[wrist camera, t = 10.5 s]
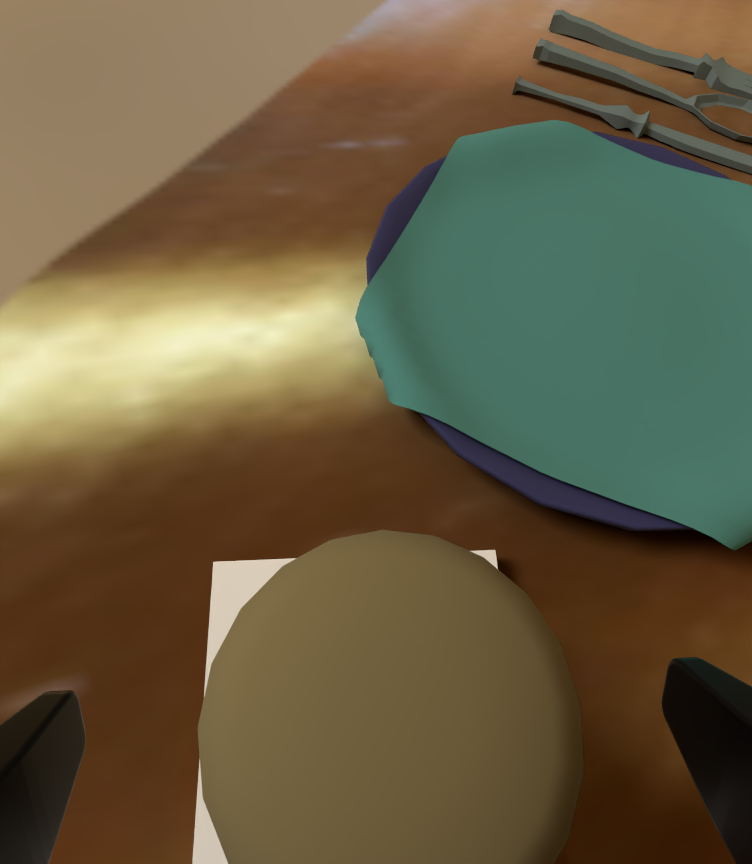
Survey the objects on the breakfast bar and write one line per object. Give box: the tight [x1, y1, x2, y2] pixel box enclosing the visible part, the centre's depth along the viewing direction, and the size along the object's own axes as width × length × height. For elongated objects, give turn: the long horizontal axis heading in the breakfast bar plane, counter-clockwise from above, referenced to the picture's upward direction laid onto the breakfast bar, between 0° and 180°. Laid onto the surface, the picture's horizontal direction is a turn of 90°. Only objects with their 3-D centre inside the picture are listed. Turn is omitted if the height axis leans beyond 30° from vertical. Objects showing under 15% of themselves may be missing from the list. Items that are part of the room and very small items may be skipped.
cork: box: [198, 530, 584, 864], centre depth 12 cm, size 6×6×11 cm
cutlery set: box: [356, 10, 752, 551], centre depth 26 cm, size 20×30×2 cm, turn 155°
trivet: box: [192, 550, 498, 864], centre depth 17 cm, size 9×9×1 cm
